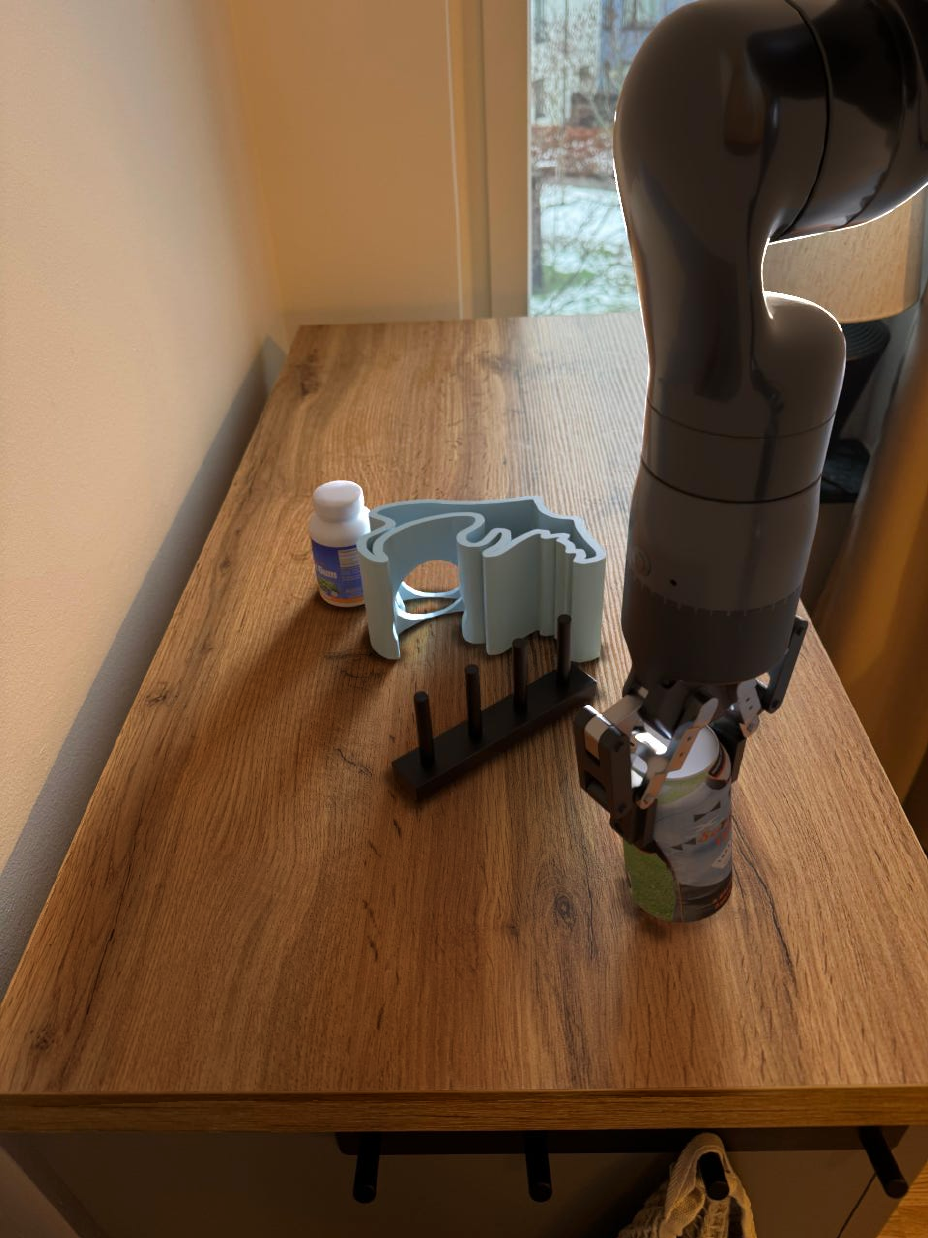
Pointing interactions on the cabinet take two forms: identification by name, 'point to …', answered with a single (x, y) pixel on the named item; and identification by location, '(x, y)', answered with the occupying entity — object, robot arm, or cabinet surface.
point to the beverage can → (686, 837)
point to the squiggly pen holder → (485, 571)
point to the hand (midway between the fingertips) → (676, 803)
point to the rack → (492, 718)
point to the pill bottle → (338, 541)
